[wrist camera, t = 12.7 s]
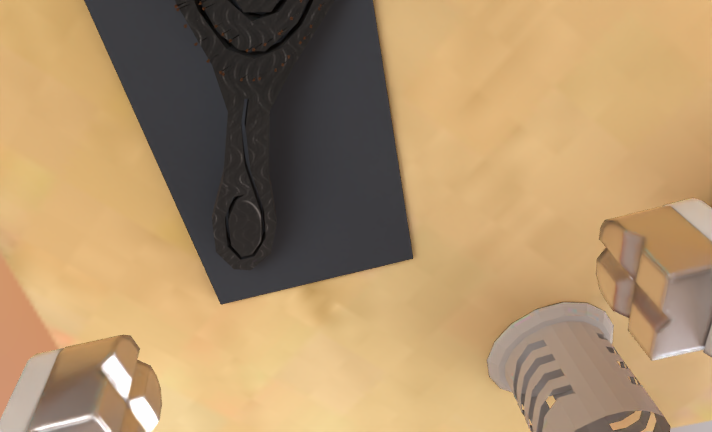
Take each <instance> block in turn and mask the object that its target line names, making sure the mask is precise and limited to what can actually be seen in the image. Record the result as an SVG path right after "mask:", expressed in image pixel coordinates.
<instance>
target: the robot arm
mask: <svg viewBox="0 0 712 432" xmlns="http://www.w3.org/2000/svg"><path fill="white" fill-rule="evenodd" d="M599 240H600V241H601V242H602V243H603V244H604V246H605V247H606V248H605V250H604V251H603V252H602V253H601V255H600V256H599V257H598V258H597V265H596V276H597V280H598V285H599V289H600V291H601V293H602V295H603V297H604V299H605V300H606V302H607V303H608V305H609V306H610V307H611V309H612V310H613V311H615V312H617V313H619V314H621V315H623V316H626V317H628V318H629V325H628V331H629V332H630V334H631V335H632V336H633V337H634V339H635V340H636V341H637V343H638V344H639V345H640V346H641V348H642V349H643V350H644V352H645V353H646V354H647V355H648V357H649V358H650V359H651V361H652V360H657V359H662V358H666V357H671V356H676V355H680V354H685V353H690V352H694V351H699V350H704V351H703V352H704V353H706V354H707V355H709V356H711V357H712V208H711V207H710V206H709V205H707V204H706V203H705V202H704V201H702V200H699V199H696V198H689V199H686V200H682V201H678V202H674V203H670V204H666V205H663V206H662V207H656V208H652V209H648V210H643V211H639V212H635V213H631V214H627V215H623V216H619V217H615V218H611V219H607V220H604V222H603V224H602V226H601V228H600V235H599ZM139 350H140V348H139V347H138V345H137V344H136V343H135V341H134V340H133V338H132V337H131V336H128V335H120V336H115V337H110V338H106V339H101V340H96V341H92V342H87V343H82V344H78V345H73V346H68V347H65V348H63V349H57V350H53V351H48V352H43V353H38V354H36V355H34V356H33V357H32V358H30V359H29V360H28V361H27V363H26V366H25V367H24V370H23V372H22V374H21V376H20V378H19V380H18V382H17V385H16V387H15V389H14V391H13V393H12V395H11V398H10V400H9V402H8V404H7V407H6V408H5V410H4V413H3V415H2V417H1V419H0V432H150V431H151V430H152V429H153V428H154V426H155V425H156V424H157V422H158V421H159V420H160V413H161V407H162V400H161V387H160V384H159V381H158V379H157V376H156V374H155V372H154V371H153V369H152V367H151V366H150V365H148V364H145V363H143V362H141V361H139V360H137V358H138V354H139Z"/></svg>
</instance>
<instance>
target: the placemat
mask: <svg viewBox="0 0 712 432" xmlns="http://www.w3.org/2000/svg"><path fill="white" fill-rule="evenodd" d="M84 1H85V3H86V5H87V7H88V10H89V12H90V14H91V16H92V19H93V21H94V23H95V25H96V28H97V30H98V32H99V34H100V36H101V39H102V41H103V43H104V45H105V48H106V50H107V52H108V54H109V56H110V59H111V61H112V63H113V65H114V68H115V70H116V72H117V74H118V76H119V79H120V81H121V83H122V85H123V88H124V90H125V92H126V94H127V97H128V99H129V101H130V103H131V105H132V108H133V110H134V112H135V114H136V117H137V119H138V121H139V123H140V125H141V128H142V130H143V132H144V134H145V137H146V139H147V141H148V143H149V146H150V148H151V150H152V152H153V154H154V157H155V159H156V161H157V163H158V166H159V168H160V170H161V172H162V174H163V177H164V179H165V181H166V183H167V186H168V188H169V190H170V192H171V195H172V197H173V199H174V201H175V203H176V206H177V208H178V210H179V212H180V215H181V217H182V219H183V221H184V223H185V226H186V228H187V230H188V232H189V235H190V237H191V239H192V241H193V244H194V246H195V248H196V250H197V252H198V255H199V257H200V259H201V261H202V264H203V266H204V268H205V270H206V272H207V275H208V277H209V279H210V281H211V284H212V286H213V288H214V290H215V293H216V295H217V297H218V299H219V301H220V304H225V303H229V302H234V301H238V300H242V299H246V298H250V297H255V296H259V295H263V294H267V293H271V292H275V291H280V290H284V289H288V288H292V287H296V286H300V285H305V284H309V283H313V282H317V281H321V280H326V279H330V278H334V277H338V276H342V275H346V274H351V273H355V272H359V271H363V270H367V269H371V268H376V267H380V266H384V265H388V264H392V263H397V262H401V261H405V260H409V259H413V254H412V247H411V241H410V235H409V228H408V222H407V216H406V209H405V203H404V196H403V190H402V184H401V177H400V171H399V165H398V158H397V152H396V145H395V139H394V133H393V126H392V120H391V114H390V107H389V101H388V95H387V88H386V82H385V75H384V69H383V63H382V56H381V50H380V44H379V37H378V31H377V24H376V18H375V12H374V5H373V0H335V1H334V3H333V4H332V6H331V7H330V9H329V11H328V12H327V14H326V15H325V17H324V19H323V20H322V22H321V23H320V25H319V26H318V28H317V30H316V31H315V33H314V34H313V36H312V38H311V39H310V41H309V42H308V44H307V45H306V47H305V49H304V50H303V52H302V53H301V55H300V57H299V58H298V60H297V61H296V63H295V65H294V66H293V68H292V70H291V72H290V73H289V75H288V77H287V79H286V81H285V83H284V85H283V87H282V89H281V91H280V92H279V94H278V96H277V98H276V100H275V102H274V104H273V106H272V108H271V109H270V115H269V174H270V180H271V185H272V190H273V195H274V203H275V208H276V219H277V225H276V230H275V235H274V240H273V245H272V250H271V254H270V255H268V256H267V257H266V258H265V259H264V260H263V261H261V262H260V263H259V264H258V265H257V266H255V267H254V268H253V269H252V270H237V269H233V268H232V267H231V266H230V265H229V264H228V263H227V262H226V261H225V260H224V259H223V258H222V257H220V256H219V255H218V254H217V253H216V248H215V241H214V233H213V225H212V213H213V209H214V205H215V201H216V197H217V193H218V189H219V185H220V181H221V177H222V173H223V169H224V156H225V143H226V130H227V117H228V111H227V108H226V105H225V102H224V99H223V96H222V93H221V90H220V88H219V85H218V82H217V79H216V76H215V73H214V70H213V67H212V64H211V63H210V61H209V63H207V62H206V61H207V60H208V57H207V56H206V54H205V52H204V51H203V49H202V47H201V45H200V44H199V42H198V40H197V39H196V37H195V35H194V33H193V32H192V30H191V28H190V26H189V25H188V23H187V21H186V20H185V18H184V16H183V14H182V13H181V11H180V9H179V11H176V10H177V9H178V7H177V8H175V7H174V5H176V2H175V0H84ZM198 1H199V2H200V1H201V0H198ZM280 1H281V0H279V1H278V3H279V2H280ZM232 2H233V3H234V4H235V5H236V6H237V7H238V8H240V6H239V5H238V3H237V2H236V1H235V0H232ZM308 3H309V0H308V1H307V3H306V5H305V7H304V10H303V12H302V14H301V17H302V16H303V14H304V13H305V10H306V8H307V5H308ZM201 6H202V8H203V7H204V6H203V4H201ZM204 11H205V13H206V14H207V12H206V10H204ZM253 13H256V14H260V15H264V14H265V13H266V12H253ZM207 16H208V14H207ZM301 17H300V18H301ZM208 18H209V16H208ZM209 19H210V18H209ZM210 21H211V20H210ZM211 23H212V22H211ZM185 24H187V28H184V25H185ZM292 28H293V27H292ZM292 28H291V29H292ZM291 29H290V30H291ZM290 30H289V31H290ZM216 31H217V30H216ZM289 31H288V32H287V33H285V34H284V35H283V37H281V38H280V39H279V40H277V41H276V42H275V43H274V44H277V43H279V42H281V41H282V40H283V39H284V37H285V36H286V35H287V34H288V33H289ZM217 32H218V33H219V34H220V35H222V34H221V33H220V32H219V31H217ZM222 37H223V38H225V37H224V36H222ZM225 39H226V38H225ZM196 42H197V43H198V45H197V46H194V44H195V43H196ZM274 44H273V45H274ZM252 52H255V51H248V53H252ZM247 101H248V99H244V107H243V115H242V124H241V125H242V136H243V145H244V152H245V159H246V164H247V167H248V170H249V173H250V176H251V179H252V182H253V185H254V188H255V191H256V194H257V198H258V201H259V204H260V207H261V210H262V220H263V230H262V235H263V233H264V232H265V228H264V219H263V209H262V203H261V200H260V197H259V194H258V191H257V188H256V185H255V182H254V179H253V176H252V173H251V170H250V162H249V154H248V146H247V138H246V131H245V116H246V108H247ZM233 199H234V197H233ZM233 199H232V201H233ZM231 203H232V202H231ZM228 219H229V209H228V211H227V214H226V226H227V232H228V237H229V239H230V231H229V223H228ZM230 240H231V239H230Z"/></svg>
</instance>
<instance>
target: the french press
mask: <svg viewBox="0 0 712 432" xmlns="http://www.w3.org/2000/svg"><path fill="white" fill-rule="evenodd" d="M613 327H614V325H613V324H612V322H611V321H610V319H609V317H608V316H607V314H606V312H605V311H603V310H601V309H599V308H597V307H594V306H592V305H590V304H588V303H570V302H562V303H558V304H555V305H551V306H547V307H544V308H540V309H536V310H534V311H533V312H531V313H529V314H528V315H526V316H524V317H522V318H521V319H519V320H517V321H515V322H514V323H512V324H511V325H510V326H509V327H508V328H507V329H506V330H505V331H504V332H503V333H502V335H501V336H500V337H499V338H498V339H497V340H496V341H495V342H494V345H493V347H492V350H491V352H490V354H489V357H488V359H487V363H488V371H489V377H490V378H491V379H492V380H493V381H494V382H495V383H496V384H497V386H498V387H499V388H500V389H503V390H506V391H509V392H512V393H513V395H514V397H515V399H516V400H517V402H518V405H519V408H520V410H521V412H522V413H523V415H524V416H525V420H526V422H527V424H528V426H529V428H530V430H531V431H532V432H641V431H642V430H644V429H645V428H646V426H647V423H648V420H649V417H650V415H651V414H650V412H653V413H654V414H655V417H656V420H657V421H656V424H655V427H654V430H653V432H670V425H669V424H668V422H667V420H666V419H665V417H664V416H663V414H662V413H661V411H660V410H659V409H658V407H657V406H656V405H655V403H654V402H653V400H652V399H651V398H650V396H649V395H648V393H647V392H646V391H645V389H644V388H643V386H641V385H640V383H639V382H638V380H637V379H636V377H635V376H634V375H633V373H632V372H631V370H630V369H629V368H628V367H627V365H626V364H625V362H624V361H623V360H622V358H621V357H620V355H619V354H618V353H617V351H616V350H615V348H614V347H613V346H612V341H613ZM613 348H614V349H613ZM614 350H615V351H616V353H617V354H615V353H614ZM617 361H620V364H621V367H620V366H619V364H618V363H617ZM623 362H624V363H623ZM624 364H625V365H626V367H627V368H625V366H624ZM627 376H628V377H630V379H631V381H630V380H629V378H628V377H627ZM634 377H635V379H636V380H637V382H638V385H636V383H635V380H634ZM552 395H553V396H554V398H555V400H556V401H555V403H554V404H553V405H552V407H551V408H549V406H548V404H547V402H546V399H547V398H548V396H552ZM521 404H523V406H524V410H522V405H521ZM640 410H641V411H642V412H641V416H640V419H639V420H638V421H637V422H635V423H633V424H632V425H630V426H629V427H627V428H624V429H619V430H612V428H611V426H610V425H609V424H610V423H614V422H618V421H621V420H623V419H624V418H626V417H628V416H629V415H631V414H632V413H634V412H635V411H640ZM529 419H530V421H531V423H532V425H530V424H529Z"/></svg>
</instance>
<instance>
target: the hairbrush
mask: <svg viewBox="0 0 712 432" xmlns="http://www.w3.org/2000/svg"><path fill="white" fill-rule="evenodd" d="M235 1H236V2H237V3H238V5H239V6H240V8H238V7H237V6H236V5H235V4H234V3H233V2H232V0H201V1H200V2H199V1H198V0H175V2H176V5H174V7H175V8H177V7H178V9H177V10H176V11H179V9H180V11H181V13H182V14H183V16H184V18H185V20H186V21H187V23H188V25H189V26H190V28H191V30H192V32H193V33H194V35H195V37H196V39H197V40H198V42H199V44H200V45H201V47H202V49H203V51H204V52H205V54H206V56H207V57H208V60H207V61H206V62H207V63H209V61H210V63H211V64H212V67H213V70H214V73H215V76H216V79H217V82H218V85H219V88H220V90H221V93H222V96H223V99H224V102H225V105H226V108H227V111H228V117H227V130H226V143H225V156H224V169H223V173H222V177H221V181H220V185H219V189H218V193H217V197H216V201H215V205H214V209H213V213H212V225H213V233H214V241H215V248H216V253H217V254H218V255H219V256H220V257H222V258H223V259H224V260H225V261H226V262H227V263H228V264H229V265H230V266H231V267H232V268H233V269H237V270H252V269H253V268H254V267H255V266H257V265H258V264H259V263H260V262H261V261H263V260H264V259H265V258H266V257H267V256H268V255H270V254H271V250H272V245H273V240H274V235H275V230H276V225H277V219H276V208H275V203H274V195H273V190H272V185H271V180H270V174H269V115H270V109H271V108H272V106H273V104H274V102H275V100H276V98H277V96H278V94H279V92H280V91H281V89H282V87H283V85H284V83H285V81H286V79H287V77H288V75H289V73H290V72H291V70H292V68H293V66H294V65H295V63H296V61H297V60H298V58H299V57H300V55H301V53H302V52H303V50H304V49H305V47H306V45H307V44H308V42H309V41H310V39H311V38H312V36H313V34H314V33H315V31H316V30H317V28H318V26H319V25H320V23H321V22H322V20H323V19H324V17H325V15H326V14H327V12H328V11H329V9H330V7H331V6H332V4H333V3H334V1H335V0H309V3H308V5H307V8H306V10H305V13H304V14H303V16H302V17H301V14H302V12H303V10H304V7H305V5H306V3H307V1H308V0H281V1H280V2H279V3H278V1H279V0H235ZM201 4H203V6H204V7H203V8H202V6H201ZM204 10H206V12H207V14H208V16H209V18H210V19H209V18H208V16H207V14H206V13H205V11H204ZM253 12H266V13H265V14H264V15H260V14H256V13H253ZM300 17H301V18H300ZM210 20H211V21H210ZM211 22H212V23H211ZM292 27H293V28H292ZM184 28H187V24H185V25H184ZM291 28H292V29H291ZM290 29H291V30H290ZM216 30H217V31H219V32H220V33H221V34H222V35H220V34H219V33H218V32H217V31H216ZM289 30H290V31H289ZM288 31H289V33H288V34H287V35H286V36H285V37H284V39H283V40H282V41H281V42H279V43H277V44H274V43H275V42H276V41H277V40H279V39H280V38H281V37H283V35H284V34H285V33H287V32H288ZM222 36H224V37H225V38H226V39H225V38H223V37H222ZM273 44H274V45H273ZM197 45H198V43H197V42H196V43H195V44H194V46H197ZM248 51H255V52H252V53H248ZM244 99H248V101H247V108H246V116H245V131H246V138H247V146H248V154H249V162H250V170H251V173H252V176H253V179H254V182H255V185H256V188H257V191H258V194H259V197H260V200H261V203H262V209H263V219H264V228H265V232H264V233H263V235H262V230H263V220H262V210H261V207H260V204H259V201H258V198H257V194H256V191H255V188H254V185H253V182H252V179H251V176H250V173H249V170H248V167H247V164H246V159H245V152H244V145H243V136H242V125H241V124H242V115H243V107H244ZM233 197H234V199H233ZM232 199H233V201H232ZM231 202H232V203H231ZM228 209H229V219H228V223H229V231H230V239H231V240H230V239H229V237H228V232H227V226H226V214H227V211H228Z"/></svg>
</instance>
